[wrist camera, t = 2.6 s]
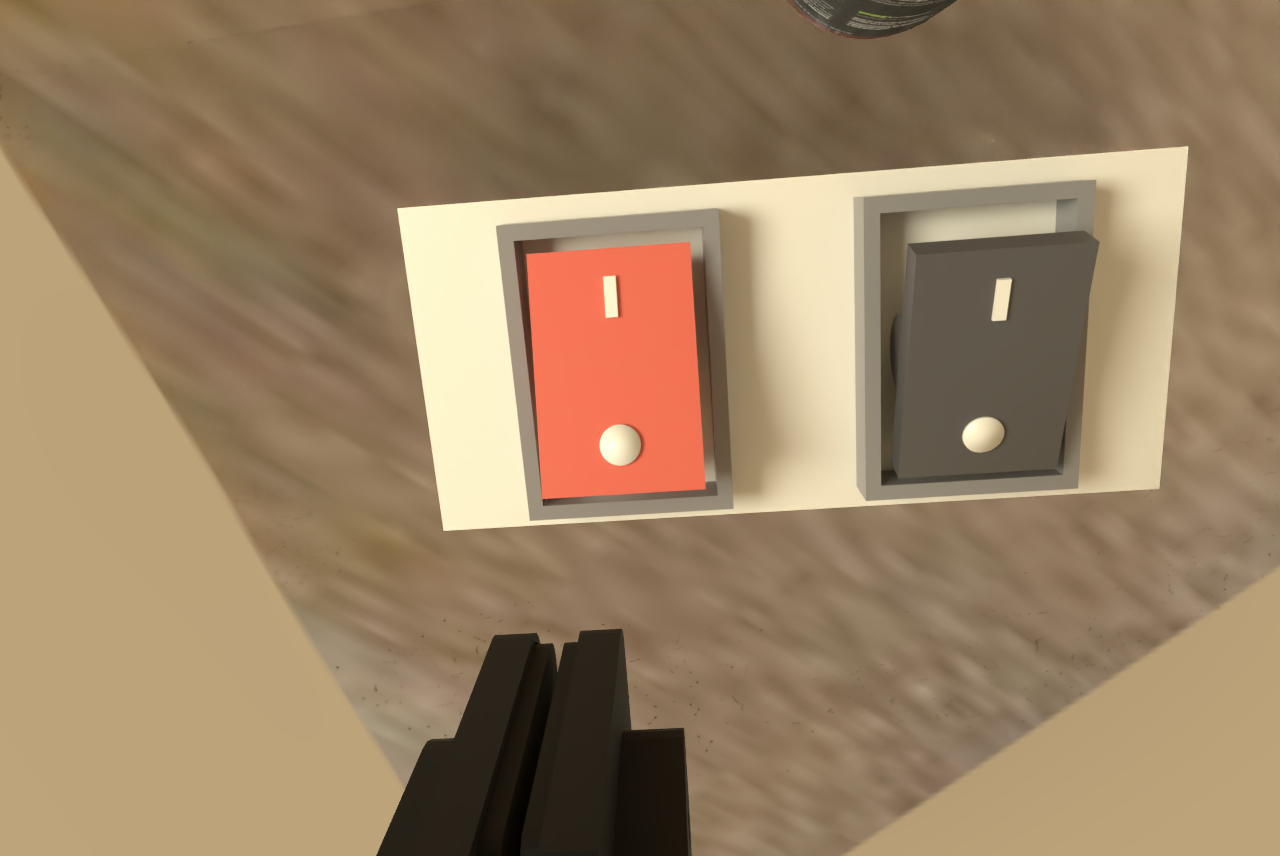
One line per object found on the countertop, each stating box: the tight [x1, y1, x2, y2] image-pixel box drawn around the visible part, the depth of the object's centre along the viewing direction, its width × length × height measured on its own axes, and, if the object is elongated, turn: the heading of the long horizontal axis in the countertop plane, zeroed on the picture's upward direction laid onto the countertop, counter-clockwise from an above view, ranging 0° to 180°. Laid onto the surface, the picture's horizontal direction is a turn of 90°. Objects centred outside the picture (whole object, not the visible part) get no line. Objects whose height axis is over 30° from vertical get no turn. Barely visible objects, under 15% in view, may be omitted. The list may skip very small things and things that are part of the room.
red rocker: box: [526, 242, 706, 499], centre depth 22 cm, size 4×6×2 cm, turn 4°
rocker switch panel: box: [397, 147, 1188, 531], centre depth 25 cm, size 20×9×5 cm, turn 94°
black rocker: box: [890, 231, 1100, 478], centre depth 22 cm, size 4×6×2 cm, turn 4°
